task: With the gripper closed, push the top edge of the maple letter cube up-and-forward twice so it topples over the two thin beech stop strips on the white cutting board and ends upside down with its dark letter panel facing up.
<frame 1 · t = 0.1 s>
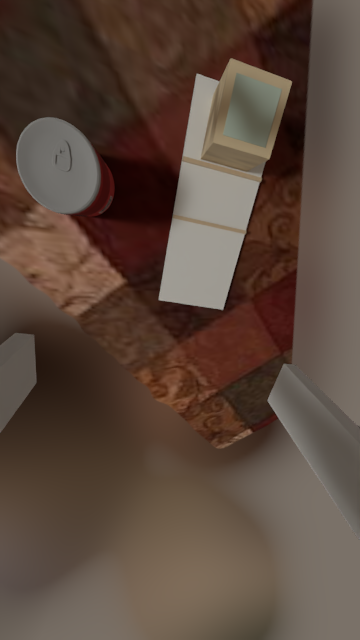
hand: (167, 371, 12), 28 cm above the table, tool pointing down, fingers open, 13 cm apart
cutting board: (211, 214, 35), on the table
letter cube: (230, 135, 30), point 1 cm above the table, touching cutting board
canned food: (88, 186, 32), on the table
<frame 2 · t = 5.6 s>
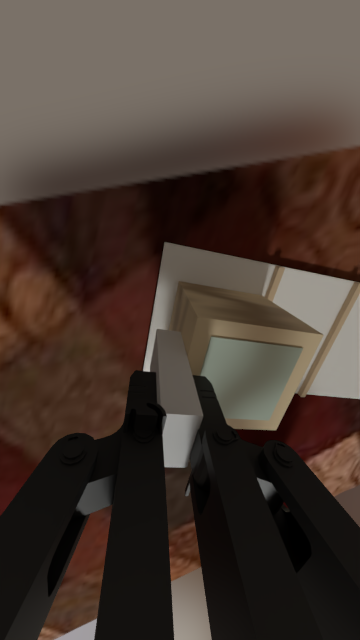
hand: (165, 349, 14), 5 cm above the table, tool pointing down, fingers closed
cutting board: (307, 338, 21), on the table
letter cube: (210, 328, 19), point 1 cm above the table, touching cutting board, gripper
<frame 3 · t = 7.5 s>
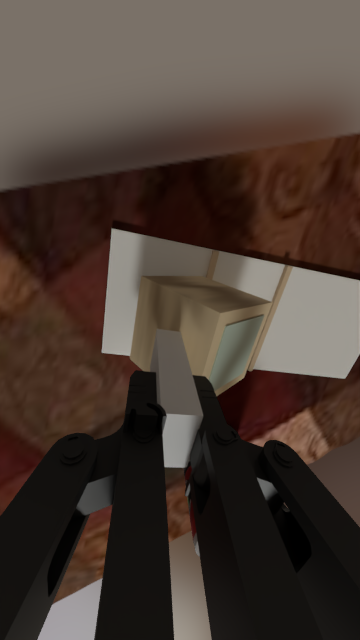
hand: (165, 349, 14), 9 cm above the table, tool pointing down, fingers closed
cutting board: (251, 317, 24), on the table
letter cube: (168, 314, 20), point 3 cm above the table, tilted 38°, touching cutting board, gripper
canned food: (208, 437, 31), on the table
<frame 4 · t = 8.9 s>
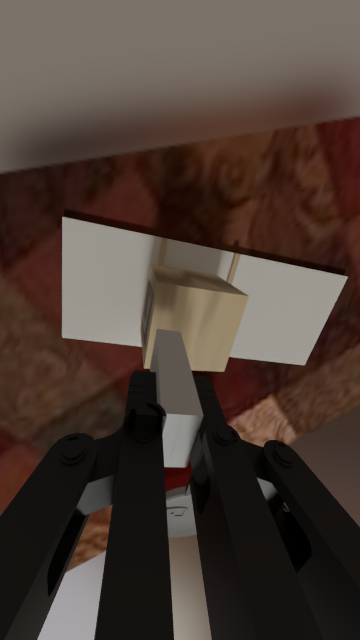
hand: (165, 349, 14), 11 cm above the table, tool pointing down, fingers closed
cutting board: (207, 304, 25), on the table
letter cube: (147, 311, 19), point 5 cm above the table, tilted 95°, touching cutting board
canned food: (175, 423, 32), on the table
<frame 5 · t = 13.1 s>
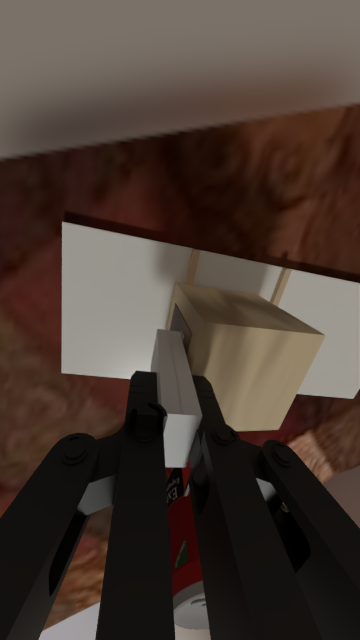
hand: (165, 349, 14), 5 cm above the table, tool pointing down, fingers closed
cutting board: (242, 330, 20), on the table
letter cube: (175, 348, 14), point 5 cm above the table, tilted 95°, touching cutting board, gripper
canned food: (195, 464, 27), on the table
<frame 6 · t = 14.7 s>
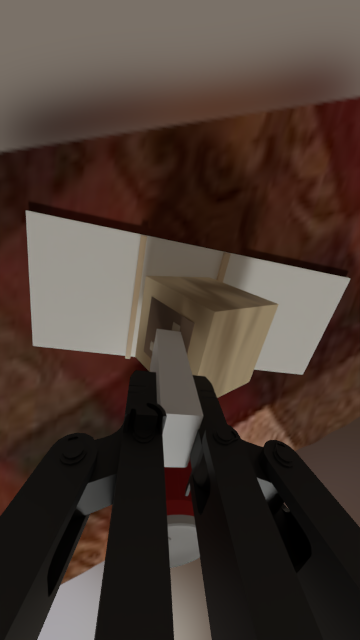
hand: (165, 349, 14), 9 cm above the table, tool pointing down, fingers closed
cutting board: (194, 309, 22), on the table
letter cube: (165, 339, 15), point 7 cm above the table, tilted 122°, touching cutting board
canned food: (163, 436, 30), on the table
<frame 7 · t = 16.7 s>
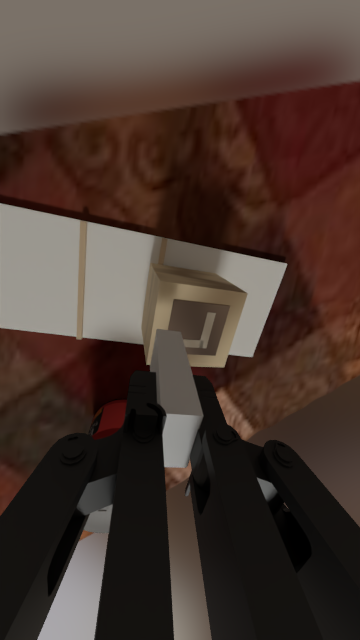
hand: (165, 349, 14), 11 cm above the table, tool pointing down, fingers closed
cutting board: (141, 292, 24), on the table
letter cube: (196, 329, 18), point 8 cm above the table, tilted 174°, touching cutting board
canned food: (123, 417, 31), on the table
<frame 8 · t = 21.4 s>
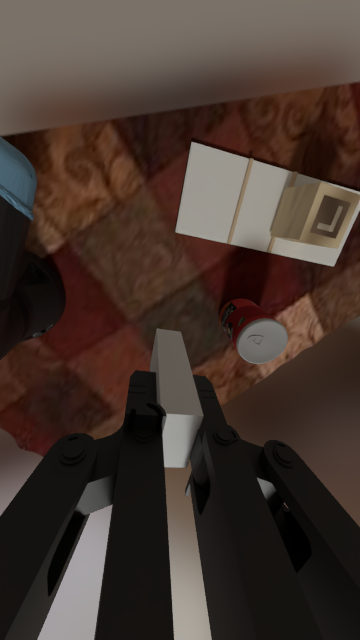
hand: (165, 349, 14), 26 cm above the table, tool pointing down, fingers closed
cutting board: (270, 213, 36), on the table
letter cube: (330, 217, 30), point 8 cm above the table, tilted 174°, touching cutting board
canned food: (237, 315, 44), on the table
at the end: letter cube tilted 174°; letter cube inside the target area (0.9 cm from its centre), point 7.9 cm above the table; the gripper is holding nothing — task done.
